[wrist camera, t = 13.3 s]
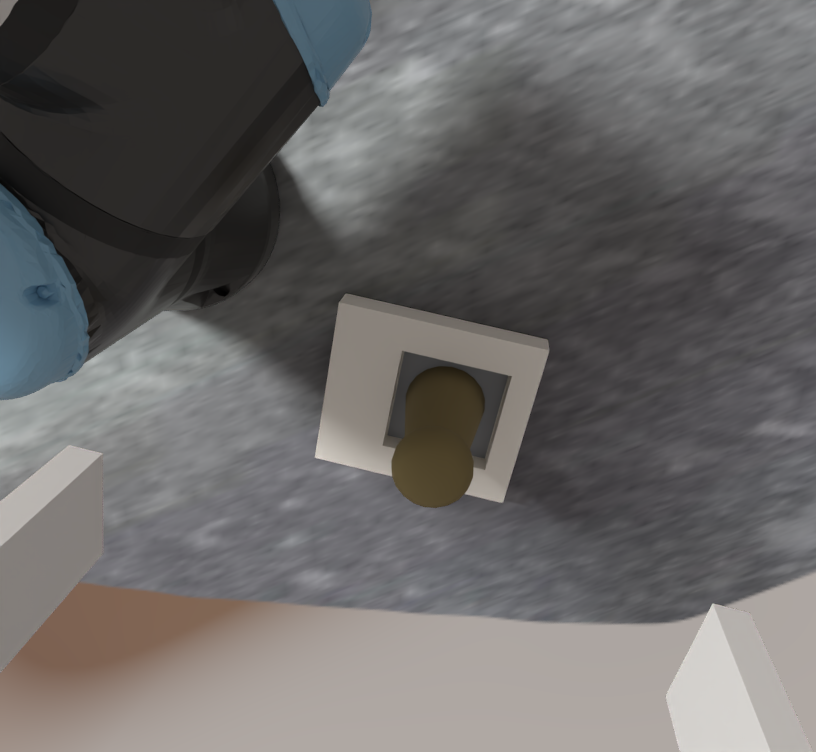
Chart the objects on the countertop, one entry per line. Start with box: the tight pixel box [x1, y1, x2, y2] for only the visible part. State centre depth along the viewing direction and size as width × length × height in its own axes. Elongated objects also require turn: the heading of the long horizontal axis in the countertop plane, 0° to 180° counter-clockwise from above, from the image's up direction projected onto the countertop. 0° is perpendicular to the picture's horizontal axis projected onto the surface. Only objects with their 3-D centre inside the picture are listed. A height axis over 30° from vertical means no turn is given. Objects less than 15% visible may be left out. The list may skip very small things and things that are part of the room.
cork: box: [391, 366, 485, 508], centre depth 45 cm, size 6×6×11 cm
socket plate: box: [315, 293, 550, 503], centre depth 50 cm, size 15×13×2 cm
